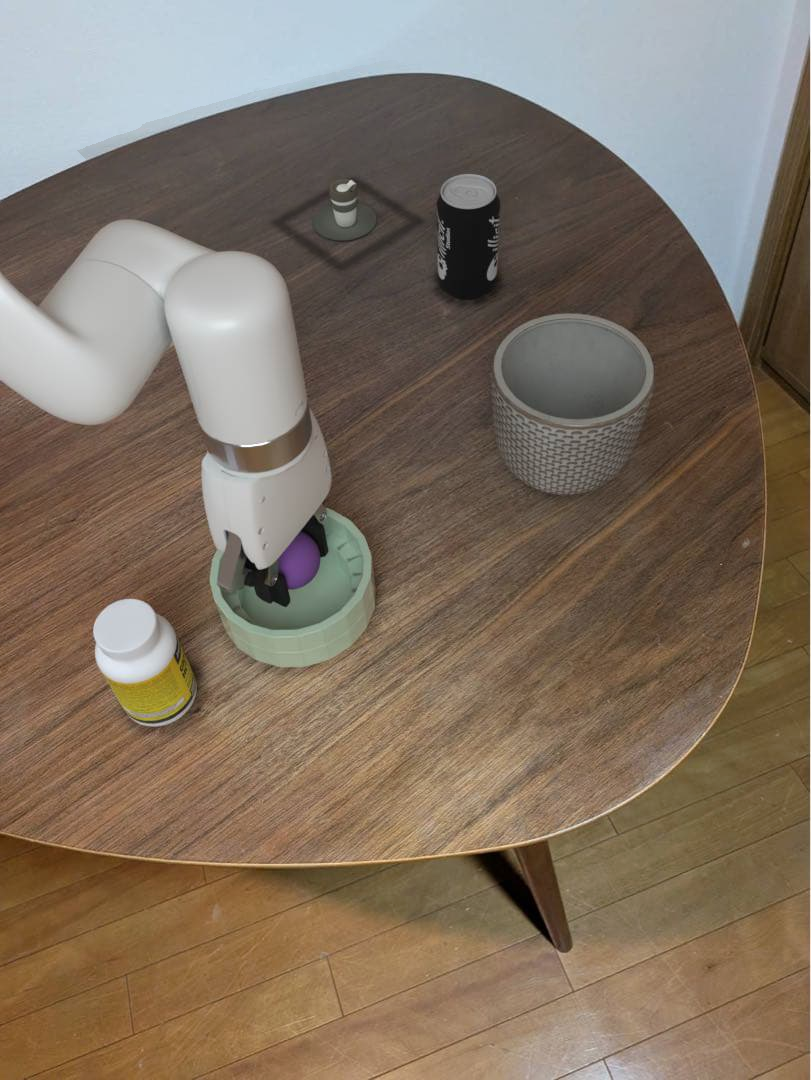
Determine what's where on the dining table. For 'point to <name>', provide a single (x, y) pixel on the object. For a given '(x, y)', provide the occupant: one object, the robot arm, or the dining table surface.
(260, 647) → the bowl
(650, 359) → the planter
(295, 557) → the ball
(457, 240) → the beverage can
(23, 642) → the dining table surface
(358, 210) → the coffee cup
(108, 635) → the pill bottle
